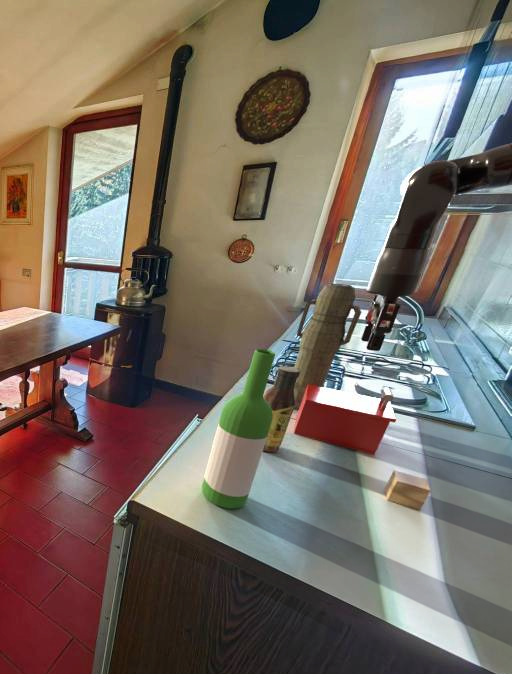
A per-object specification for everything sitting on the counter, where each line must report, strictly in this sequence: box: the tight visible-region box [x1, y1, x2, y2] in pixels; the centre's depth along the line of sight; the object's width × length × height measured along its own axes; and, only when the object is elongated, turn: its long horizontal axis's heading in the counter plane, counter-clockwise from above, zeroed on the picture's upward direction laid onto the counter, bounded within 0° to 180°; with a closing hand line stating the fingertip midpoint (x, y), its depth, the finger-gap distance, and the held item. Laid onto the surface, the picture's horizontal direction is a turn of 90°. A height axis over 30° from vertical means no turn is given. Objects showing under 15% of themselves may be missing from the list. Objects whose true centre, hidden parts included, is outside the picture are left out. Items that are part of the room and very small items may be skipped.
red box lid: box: [305, 384, 397, 424], centre depth 95 cm, size 16×13×5 cm
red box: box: [293, 388, 391, 456], centre depth 98 cm, size 16×13×9 cm
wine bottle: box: [201, 348, 276, 510], centre depth 70 cm, size 8×8×30 cm
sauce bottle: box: [263, 365, 300, 453], centre depth 90 cm, size 7×6×20 cm
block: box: [384, 469, 431, 511], centre depth 75 cm, size 5×5×5 cm
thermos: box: [293, 283, 362, 411], centre depth 108 cm, size 9×12×35 cm
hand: (369, 345), depth 87 cm, fingers open, 8 cm apart
